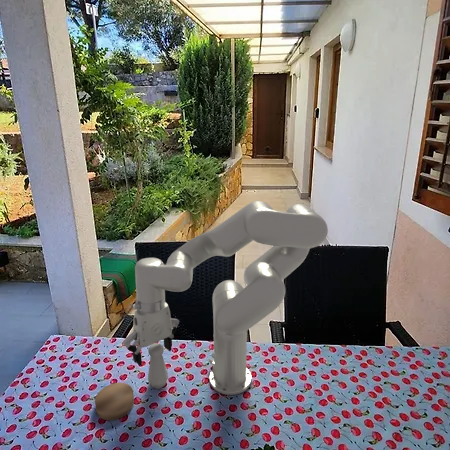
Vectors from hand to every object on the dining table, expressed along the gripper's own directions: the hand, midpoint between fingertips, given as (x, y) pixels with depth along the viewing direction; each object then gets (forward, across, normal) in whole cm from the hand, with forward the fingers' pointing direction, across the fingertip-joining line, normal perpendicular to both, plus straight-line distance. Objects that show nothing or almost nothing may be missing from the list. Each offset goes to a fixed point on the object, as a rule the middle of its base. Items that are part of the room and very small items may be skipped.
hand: (153, 355), depth 98 cm
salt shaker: (+10, +1, -1) cm, 10 cm away
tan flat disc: (+10, -12, 0) cm, 16 cm away
